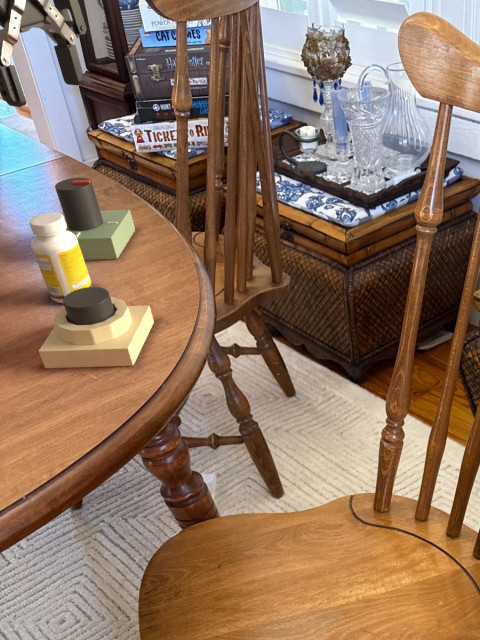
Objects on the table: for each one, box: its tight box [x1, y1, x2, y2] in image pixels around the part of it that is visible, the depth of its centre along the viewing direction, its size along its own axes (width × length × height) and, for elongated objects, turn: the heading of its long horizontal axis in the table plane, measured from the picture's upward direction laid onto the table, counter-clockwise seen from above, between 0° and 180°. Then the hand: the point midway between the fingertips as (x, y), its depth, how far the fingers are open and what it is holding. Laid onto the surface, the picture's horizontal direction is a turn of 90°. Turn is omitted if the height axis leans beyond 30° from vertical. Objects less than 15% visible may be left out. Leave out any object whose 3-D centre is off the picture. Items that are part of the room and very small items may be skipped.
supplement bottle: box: [28, 212, 94, 304], centre depth 97 cm, size 5×5×10 cm
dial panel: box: [60, 209, 136, 261], centre depth 111 cm, size 10×10×3 cm
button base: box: [38, 296, 155, 369], centre depth 90 cm, size 10×10×4 cm
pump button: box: [62, 286, 115, 325], centre depth 88 cm, size 5×5×2 cm
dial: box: [54, 177, 103, 231], centre depth 108 cm, size 5×5×6 cm
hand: (46, 94), depth 85 cm, fingers open, 8 cm apart
